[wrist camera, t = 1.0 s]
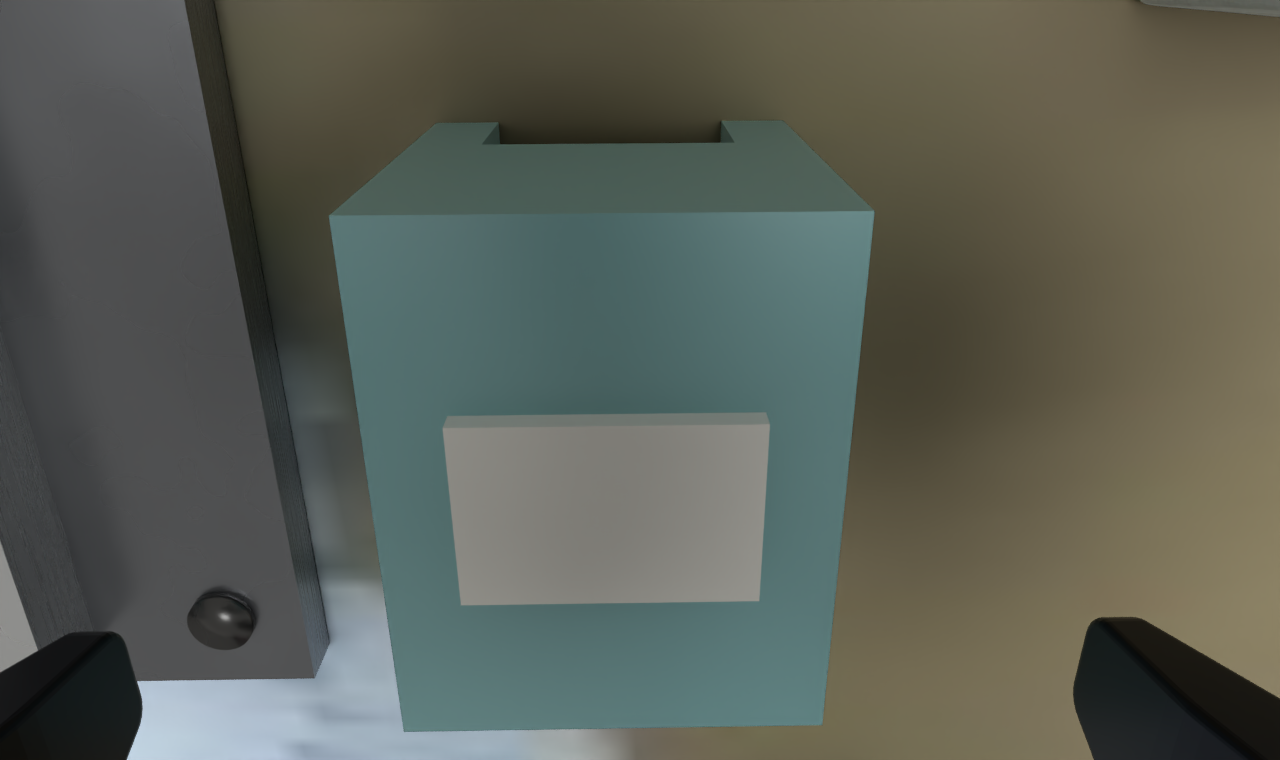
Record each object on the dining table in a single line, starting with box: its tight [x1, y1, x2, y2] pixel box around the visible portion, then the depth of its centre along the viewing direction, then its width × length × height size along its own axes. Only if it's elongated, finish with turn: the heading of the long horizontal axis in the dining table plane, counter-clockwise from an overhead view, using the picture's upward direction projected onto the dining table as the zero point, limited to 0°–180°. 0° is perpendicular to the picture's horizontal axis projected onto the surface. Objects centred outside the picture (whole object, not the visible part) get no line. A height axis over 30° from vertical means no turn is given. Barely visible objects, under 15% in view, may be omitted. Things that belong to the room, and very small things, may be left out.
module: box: [329, 120, 875, 732], centre depth 14 cm, size 7×6×6 cm
